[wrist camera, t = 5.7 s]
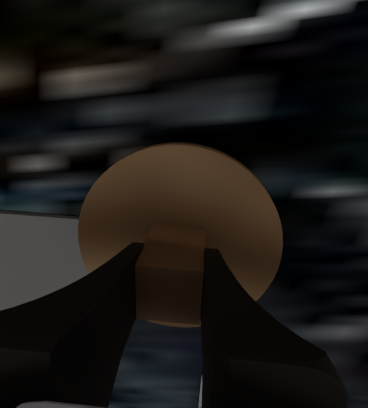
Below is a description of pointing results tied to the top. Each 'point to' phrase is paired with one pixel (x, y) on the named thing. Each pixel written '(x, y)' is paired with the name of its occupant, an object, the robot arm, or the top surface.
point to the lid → (181, 226)
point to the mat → (37, 256)
